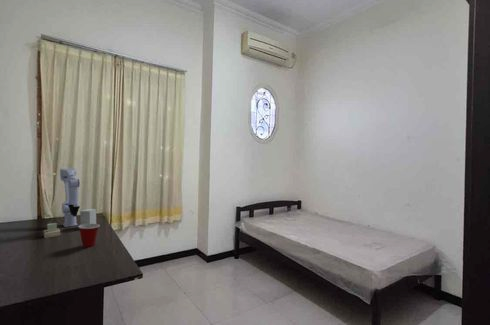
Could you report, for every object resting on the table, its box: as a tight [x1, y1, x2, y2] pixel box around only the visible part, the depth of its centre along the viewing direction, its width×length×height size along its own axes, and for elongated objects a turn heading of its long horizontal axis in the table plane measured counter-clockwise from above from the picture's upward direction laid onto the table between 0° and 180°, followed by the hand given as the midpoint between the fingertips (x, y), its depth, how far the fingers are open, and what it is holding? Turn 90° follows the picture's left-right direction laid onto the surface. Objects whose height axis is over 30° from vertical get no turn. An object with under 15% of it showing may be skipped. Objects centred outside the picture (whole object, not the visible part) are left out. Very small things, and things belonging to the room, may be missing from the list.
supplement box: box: [79, 208, 97, 225], centre depth 185 cm, size 7×7×13 cm
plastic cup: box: [77, 223, 101, 248], centre depth 147 cm, size 11×11×12 cm
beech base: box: [43, 227, 61, 239], centre depth 165 cm, size 8×8×3 cm
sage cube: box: [46, 222, 58, 232], centre depth 165 cm, size 4×4×4 cm
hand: (73, 215), depth 179 cm, fingers open, 7 cm apart
